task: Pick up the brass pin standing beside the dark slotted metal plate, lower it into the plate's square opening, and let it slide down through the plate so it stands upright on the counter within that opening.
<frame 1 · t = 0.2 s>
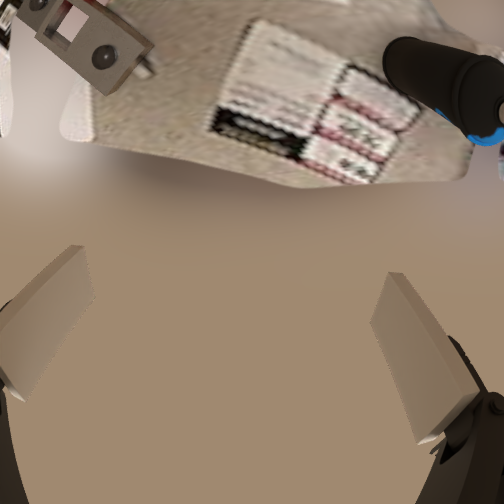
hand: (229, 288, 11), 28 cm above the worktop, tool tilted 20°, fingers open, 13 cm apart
slotted metal plate: (77, 23, 21), on the worktop
aerosol can: (410, 65, 25), on the worktop
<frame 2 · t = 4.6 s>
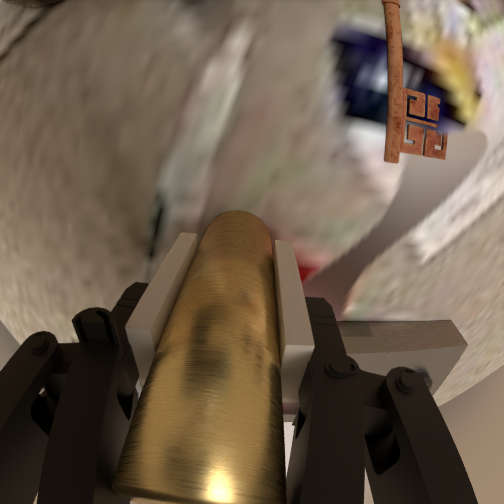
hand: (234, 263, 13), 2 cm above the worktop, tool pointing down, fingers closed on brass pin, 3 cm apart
brass pin: (237, 242, 15), on the worktop, touching gripper
slotted metal plate: (299, 361, 19), on the worktop
key: (403, 37, 10), on the worktop
when the fingers open (5 cm above the worktop, at t = 9.4 s): brass pin drops 1 cm, resting in slotted metal plate.
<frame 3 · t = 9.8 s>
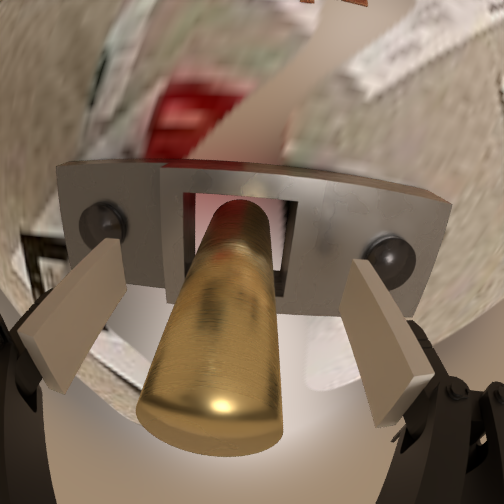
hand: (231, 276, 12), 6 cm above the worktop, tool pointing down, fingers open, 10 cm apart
brass pin: (240, 227, 17), resting in slotted metal plate
slotted metal plate: (240, 227, 17), on the worktop
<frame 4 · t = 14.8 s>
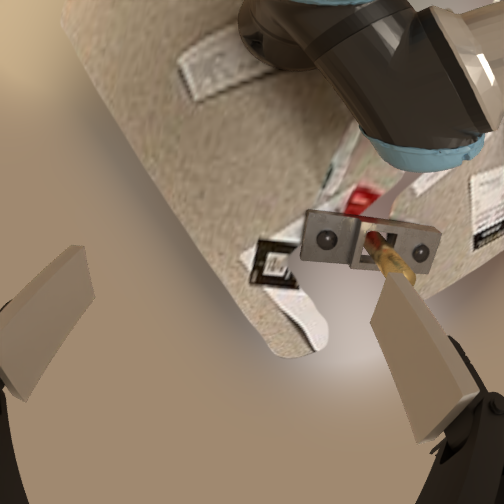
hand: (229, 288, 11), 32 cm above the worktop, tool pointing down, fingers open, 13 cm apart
brass pin: (372, 240, 45), resting in slotted metal plate
slotted metal plate: (372, 240, 44), on the worktop
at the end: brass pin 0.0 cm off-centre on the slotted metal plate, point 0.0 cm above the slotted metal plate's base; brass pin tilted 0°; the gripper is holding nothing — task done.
